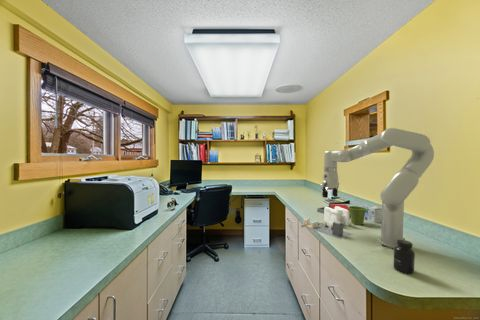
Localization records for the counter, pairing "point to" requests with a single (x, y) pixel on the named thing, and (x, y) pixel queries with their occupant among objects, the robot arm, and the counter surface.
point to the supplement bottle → (404, 257)
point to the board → (322, 228)
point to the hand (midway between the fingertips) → (330, 196)
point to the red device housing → (339, 206)
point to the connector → (337, 228)
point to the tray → (323, 210)
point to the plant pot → (357, 214)
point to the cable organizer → (336, 215)
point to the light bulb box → (373, 213)
